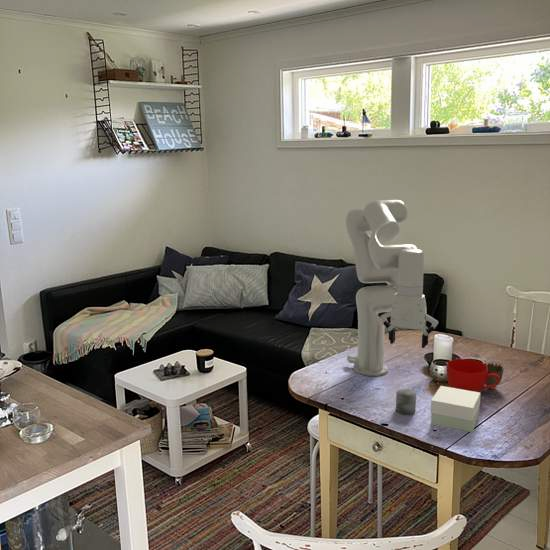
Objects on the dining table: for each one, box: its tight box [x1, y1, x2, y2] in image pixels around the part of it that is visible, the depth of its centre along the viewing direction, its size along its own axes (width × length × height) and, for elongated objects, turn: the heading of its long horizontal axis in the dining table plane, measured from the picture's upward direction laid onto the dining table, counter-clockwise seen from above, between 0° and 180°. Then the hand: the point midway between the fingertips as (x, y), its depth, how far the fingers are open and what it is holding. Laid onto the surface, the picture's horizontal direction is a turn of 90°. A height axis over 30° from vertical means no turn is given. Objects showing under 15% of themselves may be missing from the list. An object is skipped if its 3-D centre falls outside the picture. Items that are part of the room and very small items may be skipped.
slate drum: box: [395, 388, 417, 416], centre depth 187 cm, size 6×6×6 cm
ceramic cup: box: [446, 358, 500, 393], centre depth 197 cm, size 13×17×10 cm
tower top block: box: [430, 385, 482, 421], centre depth 180 cm, size 12×12×4 cm
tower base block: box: [430, 407, 480, 433], centre depth 181 cm, size 12×12×4 cm
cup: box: [484, 362, 505, 391], centre depth 202 cm, size 8×7×8 cm
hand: (408, 344), depth 183 cm, fingers open, 9 cm apart
